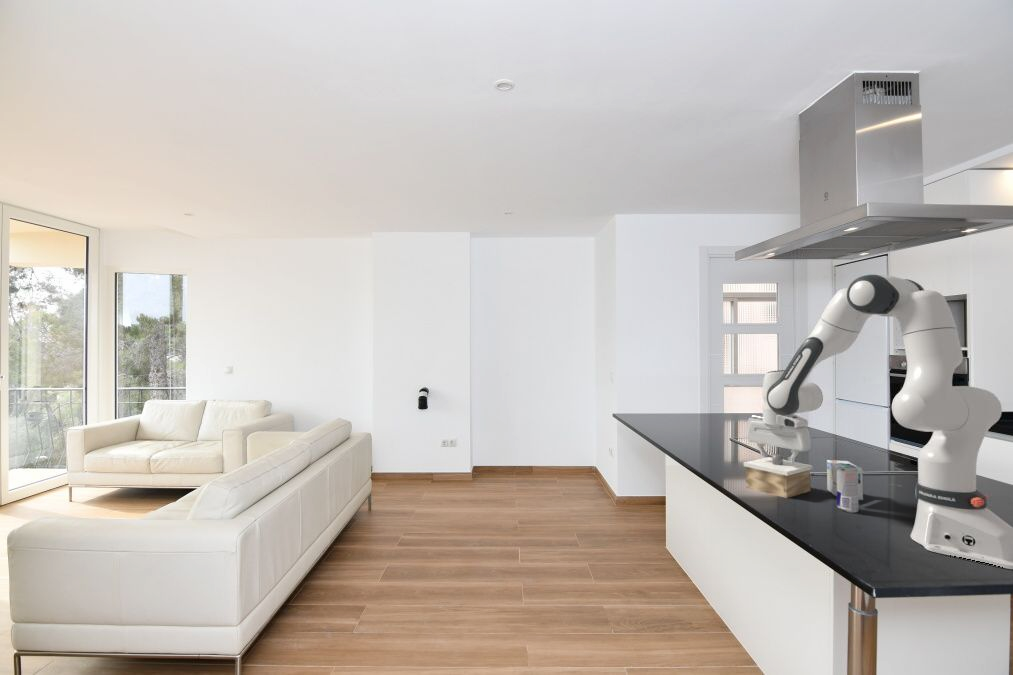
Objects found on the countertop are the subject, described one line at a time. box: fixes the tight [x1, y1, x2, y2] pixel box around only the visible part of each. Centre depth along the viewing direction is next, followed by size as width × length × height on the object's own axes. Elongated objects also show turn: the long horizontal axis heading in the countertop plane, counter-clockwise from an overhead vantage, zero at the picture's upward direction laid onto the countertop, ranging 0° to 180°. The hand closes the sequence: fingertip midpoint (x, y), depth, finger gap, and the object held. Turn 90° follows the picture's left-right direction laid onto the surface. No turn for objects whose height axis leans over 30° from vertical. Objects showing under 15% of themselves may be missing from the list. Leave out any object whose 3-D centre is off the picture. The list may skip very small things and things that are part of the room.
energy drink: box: [836, 468, 859, 514], centre depth 156 cm, size 5×5×12 cm
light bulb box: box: [826, 459, 864, 501], centre depth 169 cm, size 11×7×11 cm, turn 168°
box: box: [745, 467, 812, 499], centre depth 175 cm, size 14×14×8 cm
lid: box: [743, 453, 814, 476], centre depth 175 cm, size 15×15×5 cm
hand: (777, 459), depth 175 cm, fingers open, 8 cm apart
